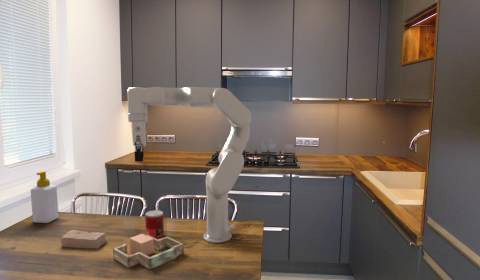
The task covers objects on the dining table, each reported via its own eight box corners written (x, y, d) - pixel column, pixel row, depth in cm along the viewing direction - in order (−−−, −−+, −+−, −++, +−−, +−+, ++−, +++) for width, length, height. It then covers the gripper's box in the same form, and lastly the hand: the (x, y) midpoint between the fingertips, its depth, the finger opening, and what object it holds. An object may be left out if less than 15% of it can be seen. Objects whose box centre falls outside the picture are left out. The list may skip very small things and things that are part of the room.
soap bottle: (31, 222, 178) (27, 173, 174) (44, 216, 187) (40, 169, 183) (47, 223, 176) (44, 174, 173) (59, 217, 185) (56, 170, 182)
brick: (107, 241, 157) (106, 231, 156) (97, 249, 149) (96, 238, 148) (72, 239, 159) (71, 229, 158) (60, 247, 151) (59, 237, 150)
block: (142, 247, 151) (142, 233, 150) (154, 252, 146) (153, 238, 145) (130, 251, 146) (129, 237, 146) (141, 257, 141) (140, 243, 140)
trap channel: (157, 240, 157) (157, 232, 156) (185, 253, 145) (185, 244, 144) (112, 257, 141) (111, 248, 141) (139, 273, 129) (138, 263, 128)
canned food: (159, 240, 157) (159, 216, 156) (142, 238, 159) (142, 215, 158) (166, 233, 165) (166, 210, 163) (150, 232, 166) (149, 209, 165)
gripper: (147, 119, 138) (148, 162, 141) (147, 116, 155) (148, 155, 157) (127, 119, 136) (128, 163, 139) (129, 116, 153) (130, 155, 155)
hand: (139, 159), depth 148 cm, fingers open, 9 cm apart
